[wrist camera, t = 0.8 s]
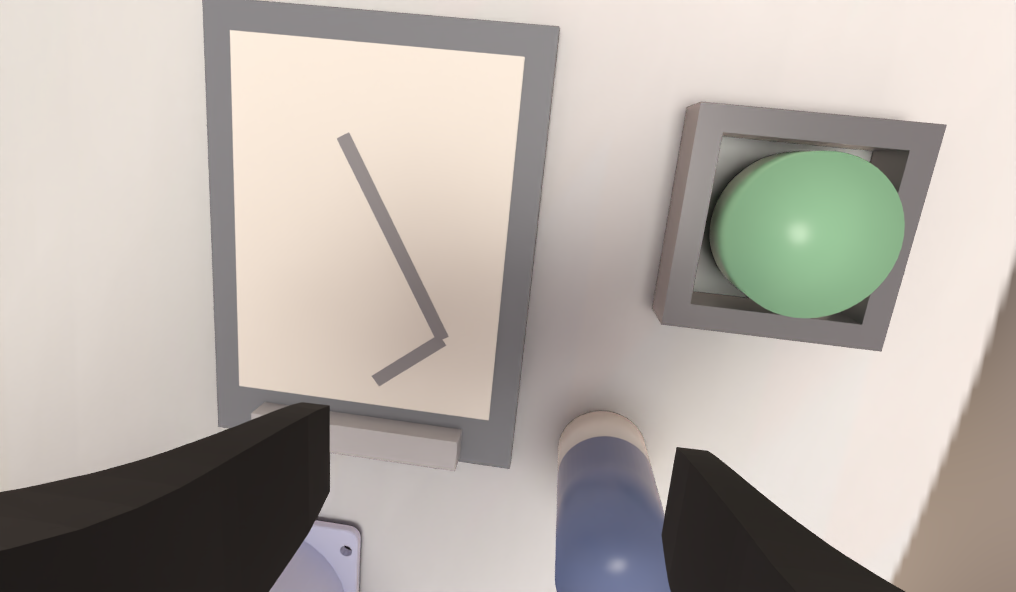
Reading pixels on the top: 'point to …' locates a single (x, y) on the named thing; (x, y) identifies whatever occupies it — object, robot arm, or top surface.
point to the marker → (607, 509)
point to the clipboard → (375, 221)
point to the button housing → (894, 143)
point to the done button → (807, 232)
